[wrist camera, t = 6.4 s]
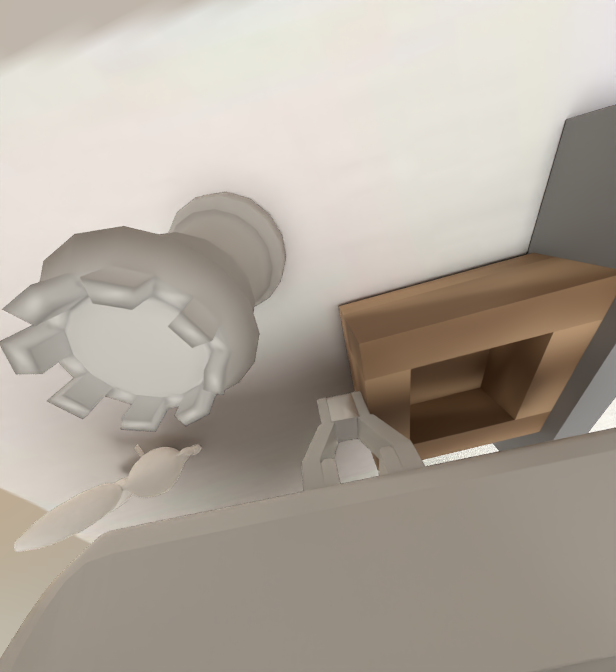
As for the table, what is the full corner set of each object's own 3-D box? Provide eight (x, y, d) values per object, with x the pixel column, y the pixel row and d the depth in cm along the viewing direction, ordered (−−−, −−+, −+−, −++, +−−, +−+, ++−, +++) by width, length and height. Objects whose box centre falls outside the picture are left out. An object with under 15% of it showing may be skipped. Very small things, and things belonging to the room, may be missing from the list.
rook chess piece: (259, 173, 8) (158, 40, 1) (299, 281, 11) (332, 420, 4) (156, 217, 9) (-293, 273, 2) (217, 312, 11) (115, 487, 4)
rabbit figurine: (216, 462, 18) (100, 535, 15) (197, 419, 19) (87, 479, 16) (196, 469, 13) (12, 585, 10) (173, 409, 14) (2, 495, 11)
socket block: (491, 389, 16) (539, 431, 13) (360, 422, 16) (378, 470, 14) (533, 252, 11) (630, 271, 8) (338, 306, 11) (359, 344, 8)
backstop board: (499, 420, 19) (555, 475, 15) (477, 425, 19) (526, 481, 15) (619, 103, 8) (909, 18, 4) (566, 119, 8) (806, 49, 5)
